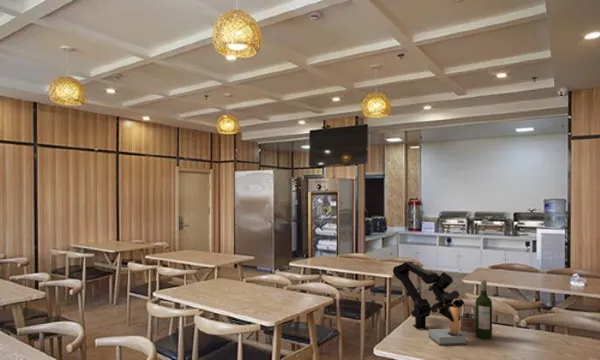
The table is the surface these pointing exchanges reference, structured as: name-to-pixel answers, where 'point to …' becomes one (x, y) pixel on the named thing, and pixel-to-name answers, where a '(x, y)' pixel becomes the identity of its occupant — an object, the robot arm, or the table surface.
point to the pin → (455, 324)
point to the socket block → (446, 337)
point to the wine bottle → (483, 314)
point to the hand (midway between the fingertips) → (456, 320)
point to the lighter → (468, 322)
